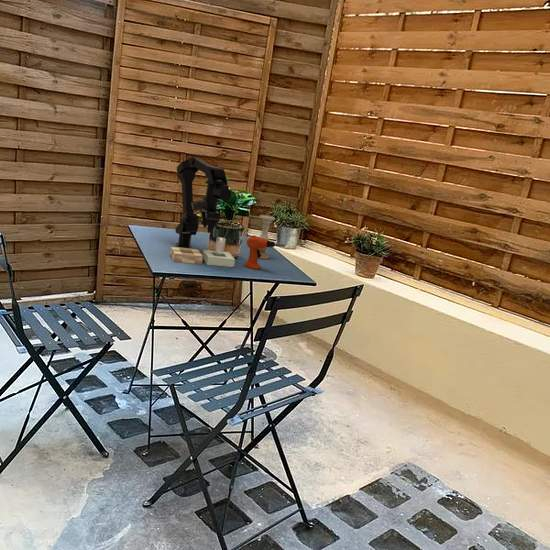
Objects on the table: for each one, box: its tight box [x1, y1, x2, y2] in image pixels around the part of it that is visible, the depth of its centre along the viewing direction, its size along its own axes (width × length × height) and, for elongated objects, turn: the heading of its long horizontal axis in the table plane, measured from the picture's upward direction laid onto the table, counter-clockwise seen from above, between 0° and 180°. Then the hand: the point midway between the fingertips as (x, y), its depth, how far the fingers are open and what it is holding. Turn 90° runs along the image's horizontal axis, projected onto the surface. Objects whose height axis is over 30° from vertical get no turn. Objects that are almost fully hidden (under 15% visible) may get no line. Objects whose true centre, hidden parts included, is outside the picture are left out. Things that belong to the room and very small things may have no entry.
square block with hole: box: [201, 249, 236, 268], centre depth 243 cm, size 12×12×4 cm
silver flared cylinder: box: [214, 236, 227, 257], centre depth 242 cm, size 4×4×11 cm
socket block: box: [169, 246, 203, 265], centre depth 238 cm, size 12×12×4 cm
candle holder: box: [258, 214, 276, 260], centre depth 265 cm, size 9×9×20 cm
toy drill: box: [243, 235, 286, 270], centre depth 241 cm, size 5×19×15 cm, turn 67°
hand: (206, 229), depth 244 cm, fingers open, 9 cm apart
